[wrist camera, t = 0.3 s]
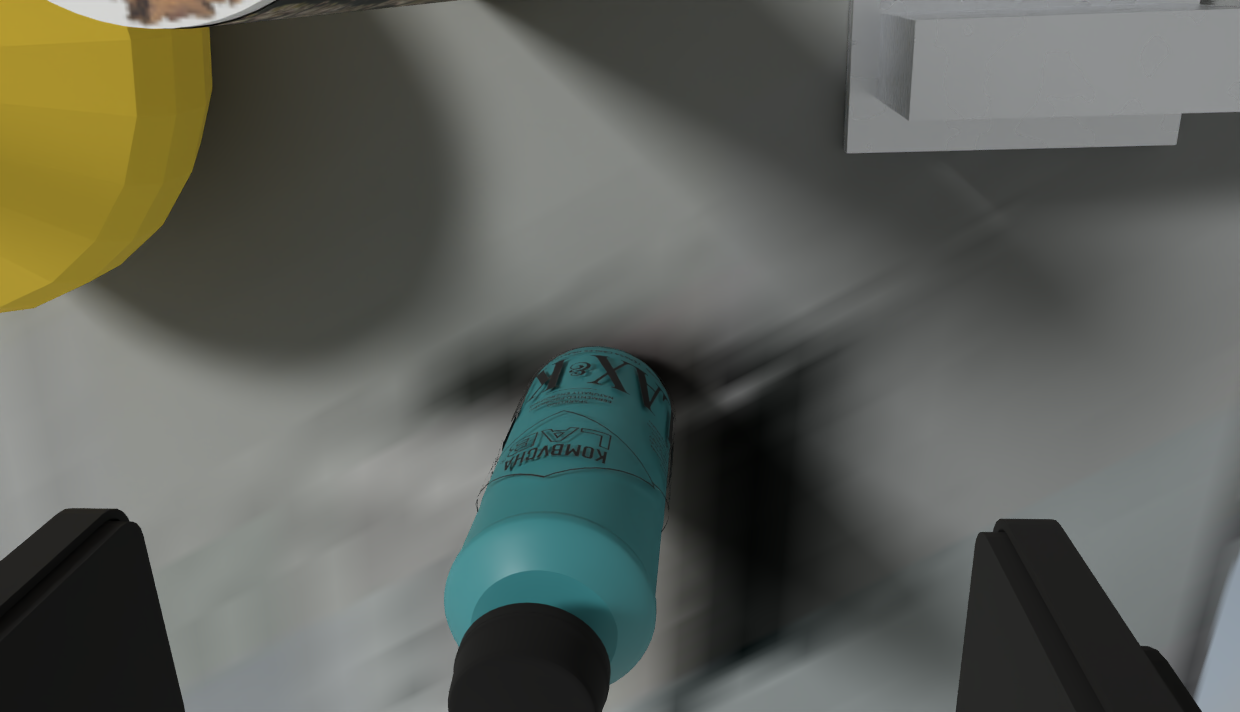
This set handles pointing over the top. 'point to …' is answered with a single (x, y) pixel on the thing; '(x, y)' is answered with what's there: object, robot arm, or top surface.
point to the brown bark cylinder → (215, 10)
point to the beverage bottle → (565, 541)
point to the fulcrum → (1034, 72)
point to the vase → (90, 142)
